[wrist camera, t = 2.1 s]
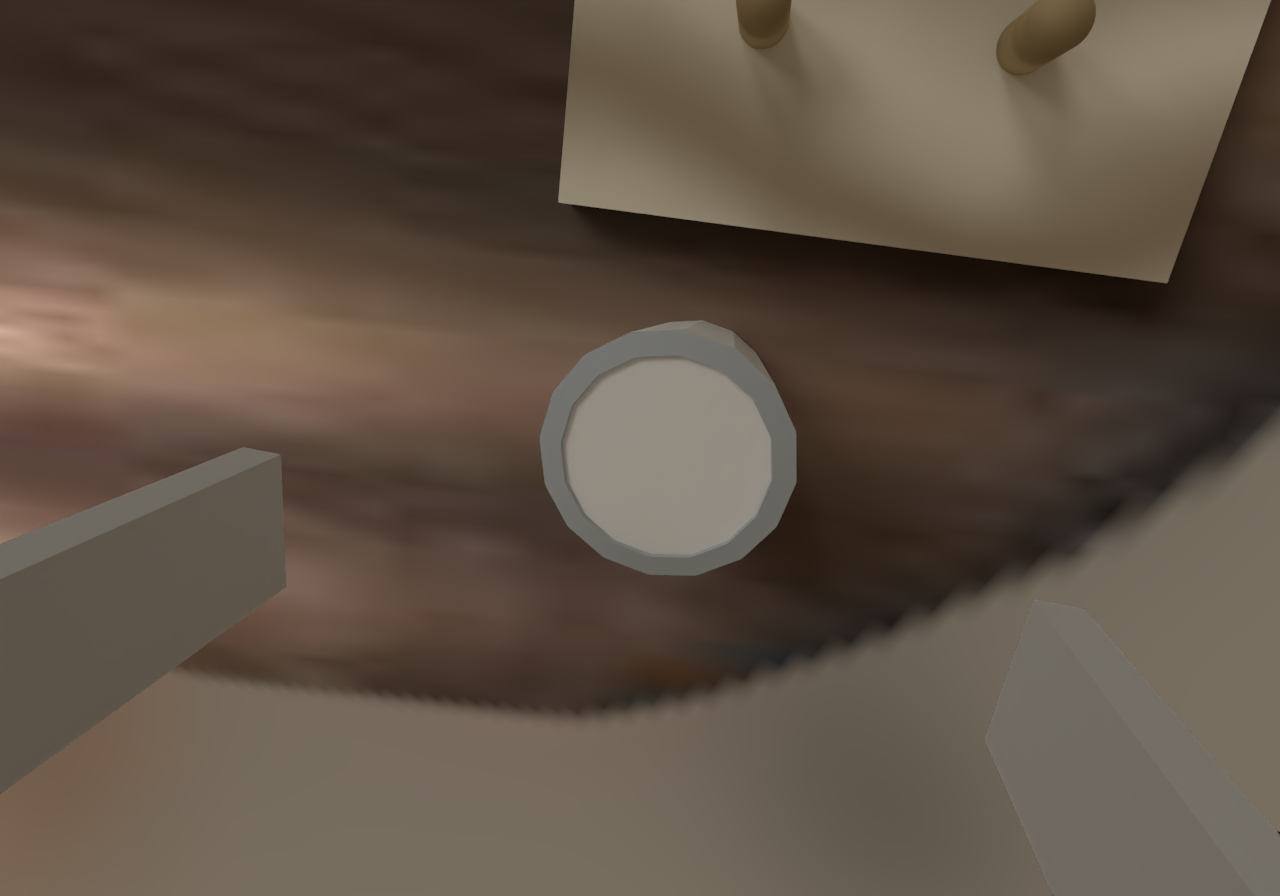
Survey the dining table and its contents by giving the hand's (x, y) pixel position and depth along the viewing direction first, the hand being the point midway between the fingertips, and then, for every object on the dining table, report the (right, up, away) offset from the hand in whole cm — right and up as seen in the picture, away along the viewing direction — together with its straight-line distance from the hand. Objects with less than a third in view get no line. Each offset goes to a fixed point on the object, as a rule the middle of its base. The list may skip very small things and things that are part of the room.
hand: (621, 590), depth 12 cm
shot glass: (+2, +4, +13) cm, 14 cm away
